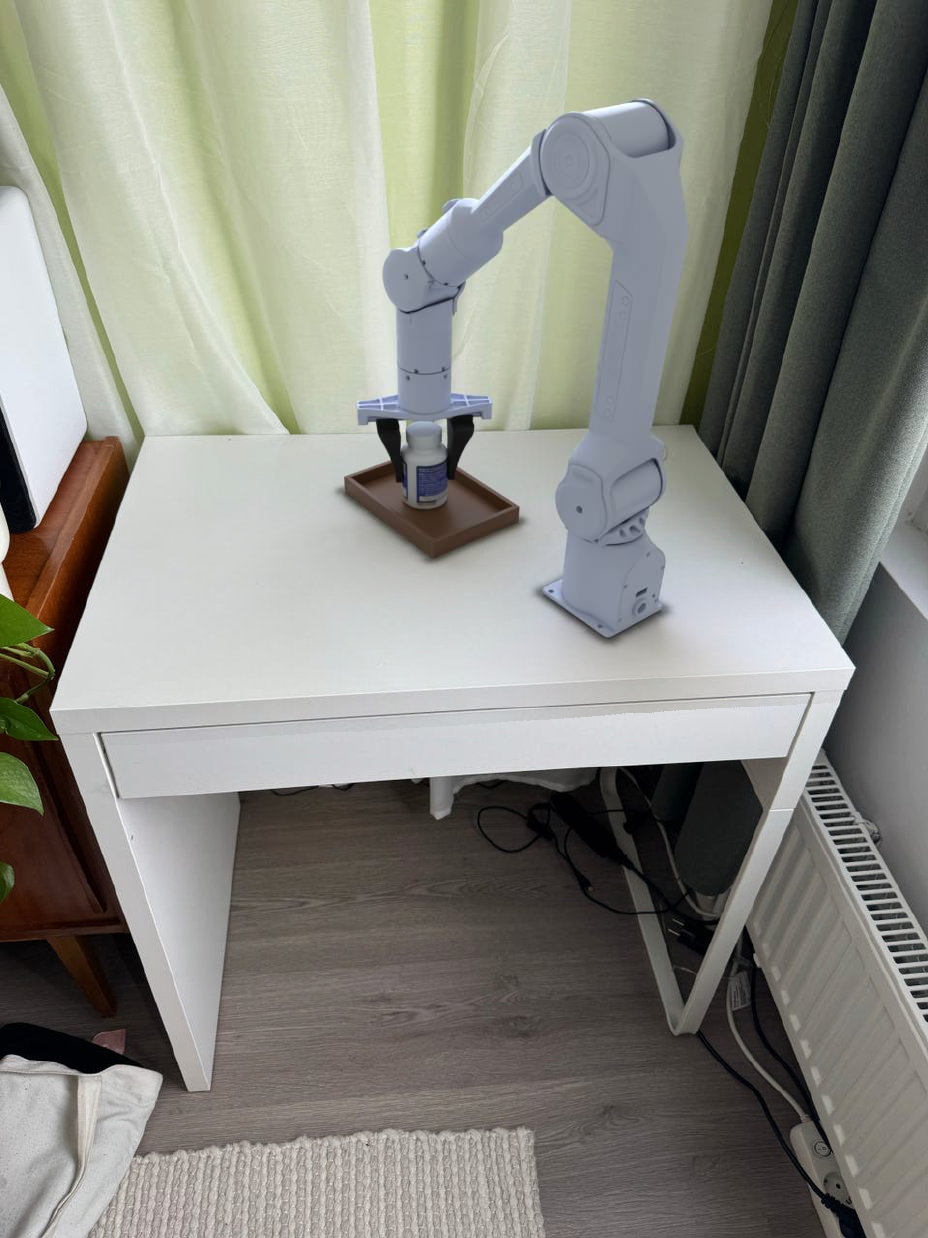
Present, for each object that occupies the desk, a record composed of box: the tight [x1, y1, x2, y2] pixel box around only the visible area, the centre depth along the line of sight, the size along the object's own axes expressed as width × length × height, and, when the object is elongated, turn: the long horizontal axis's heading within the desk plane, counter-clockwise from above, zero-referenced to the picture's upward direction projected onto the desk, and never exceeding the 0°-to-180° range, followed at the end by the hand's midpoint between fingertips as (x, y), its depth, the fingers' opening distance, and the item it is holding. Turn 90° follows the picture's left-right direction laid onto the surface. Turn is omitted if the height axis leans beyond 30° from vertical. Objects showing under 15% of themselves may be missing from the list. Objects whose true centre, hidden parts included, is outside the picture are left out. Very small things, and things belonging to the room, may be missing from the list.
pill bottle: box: [401, 421, 448, 509], centre depth 105 cm, size 5×5×9 cm
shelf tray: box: [343, 459, 521, 559], centre depth 106 cm, size 17×12×2 cm
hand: (424, 476), depth 106 cm, fingers closed on pill bottle, 5 cm apart
